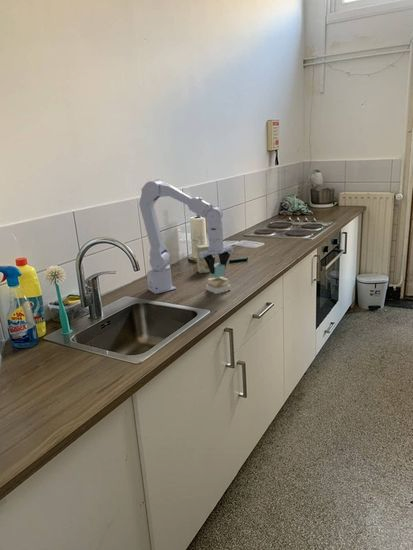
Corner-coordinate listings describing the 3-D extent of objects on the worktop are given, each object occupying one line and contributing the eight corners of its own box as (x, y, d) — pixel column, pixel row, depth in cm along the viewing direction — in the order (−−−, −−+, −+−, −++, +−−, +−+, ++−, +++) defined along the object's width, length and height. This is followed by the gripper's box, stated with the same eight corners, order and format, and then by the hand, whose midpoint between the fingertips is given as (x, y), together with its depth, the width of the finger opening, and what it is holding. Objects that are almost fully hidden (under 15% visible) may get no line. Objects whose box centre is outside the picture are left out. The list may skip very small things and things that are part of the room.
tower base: (215, 295, 163) (215, 289, 162) (206, 290, 169) (206, 284, 168) (230, 291, 166) (230, 285, 165) (221, 286, 172) (221, 281, 171)
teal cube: (215, 278, 163) (215, 267, 161) (210, 275, 166) (209, 264, 165) (225, 275, 165) (224, 265, 163) (219, 273, 168) (218, 262, 167)
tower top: (215, 288, 163) (215, 282, 162) (208, 284, 168) (207, 278, 167) (228, 285, 166) (228, 279, 165) (220, 281, 171) (220, 275, 170)
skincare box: (199, 273, 190) (197, 247, 187) (197, 271, 194) (195, 245, 191) (213, 271, 192) (211, 245, 188) (210, 269, 196) (209, 244, 192)
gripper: (204, 243, 154) (207, 278, 158) (237, 237, 161) (238, 270, 165) (195, 240, 160) (197, 274, 164) (227, 234, 167) (228, 267, 171)
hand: (217, 272), depth 165 cm, fingers closed on teal cube, 4 cm apart
